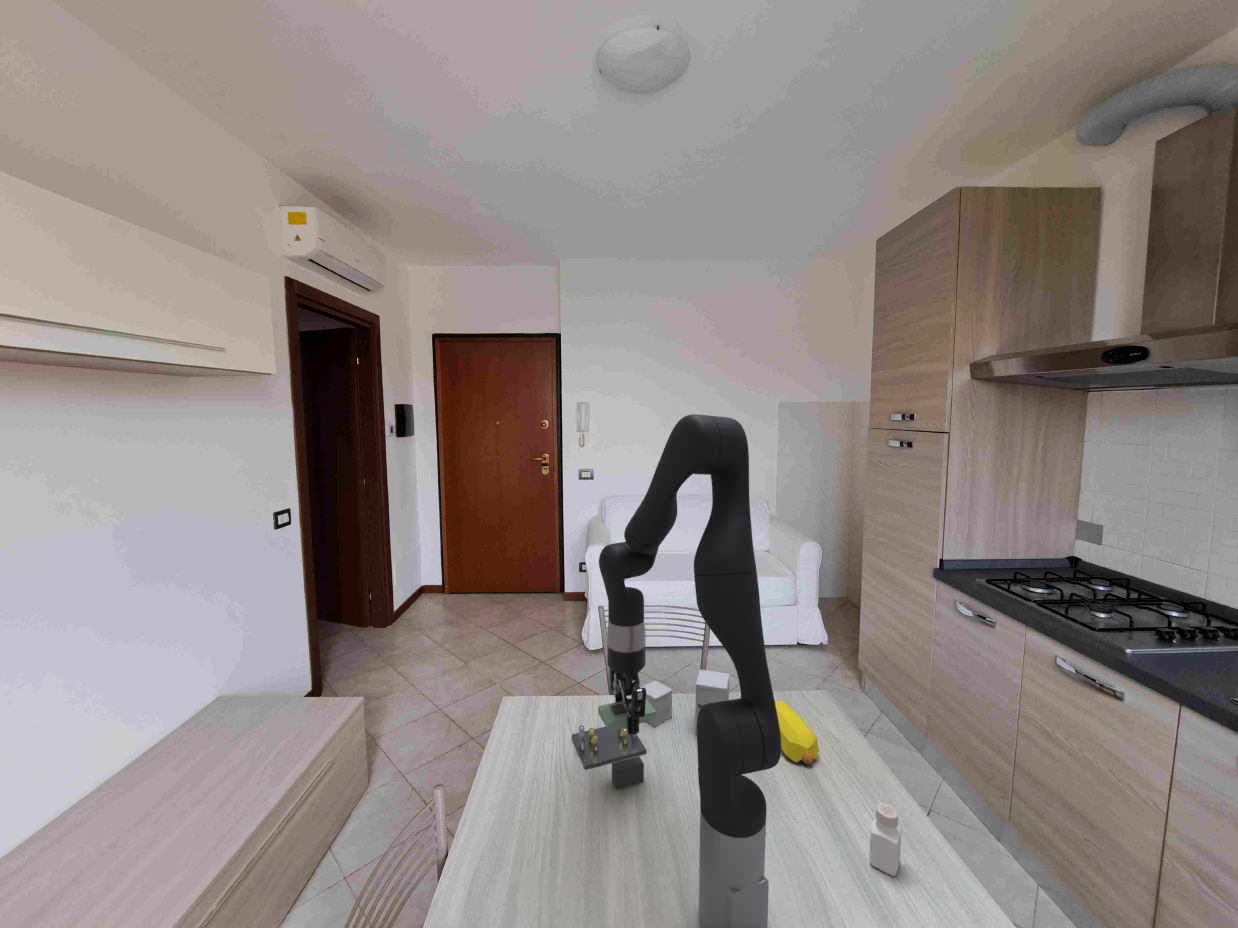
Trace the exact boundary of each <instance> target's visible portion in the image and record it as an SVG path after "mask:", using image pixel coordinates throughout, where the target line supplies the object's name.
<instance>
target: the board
mask: <svg viewBox="0 0 1238 928" xmlns="http://www.w3.org/2000/svg"><path fill="white" fill-rule="evenodd" d="M630 707H631V704H630ZM597 710H598V711H597V712H598V713H597V714H598V715H599V717H600V719H601V721H602V722H603V724H604V727H606V728H607V729H608V731H610V730H614V729H618V728H622V727H626V726H627V709H626V704H624V703H623V701H620V702H611V703H606V704H601V705H598V707H597ZM655 719H656V711H655V709H654V708H653V707H652V706H651V704H650V703H649V702H648V701H647V699H646V704H645V716H644V717H640V718H639V724H643V723H648V722H647V721H651V720H655Z"/></svg>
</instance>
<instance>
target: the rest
mask: <svg viewBox="0 0 1238 928" xmlns="http://www.w3.org/2000/svg"><path fill="white" fill-rule="evenodd" d="M644 766H645V764H644V762H643V760H642V758H641V757H640V755H638V756H635V757H631V758H627V759H623V760H619V761H615V762H612V763H611V783H612V786H613V787H614V789H615V790H616V791H617V790H622V789H624V788H628V787H633V786H636V785H639V784H642V783H644V782H645V767H644Z"/></svg>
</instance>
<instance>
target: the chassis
mask: <svg viewBox="0 0 1238 928" xmlns="http://www.w3.org/2000/svg"><path fill="white" fill-rule="evenodd" d="M571 739H572V741H573V744H574V746H575V749H576V751H577V753H578V755H579V758H580V760H581V762H582V764H583V768H584V769H585V770H588V769H592V768H595V767H599V766H600V767H601V766H604V765H607V764H612V763H615V762H619V761H622V760H626V759H630V758H634V757H638V756H642V755H645V754H647V748H646V747H645V745H644V744H643V742H642V740H641V739H640V737H639V736H638V733H637V734H633V735H629V733H628V732H627V726H626V727H622V728H618V729H614V730H610V731H608V729H607V728H606V726H602V727H597V728H594V727H590V728H589V729H588V730H585V726H584V725H583V724H582V725H579V726H578V732H576V733H573V734H571Z"/></svg>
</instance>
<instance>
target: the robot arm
mask: <svg viewBox="0 0 1238 928" xmlns="http://www.w3.org/2000/svg"><path fill="white" fill-rule="evenodd" d="M747 438H748V437H747V434H746V431H745V428H744V427H743V425H742V424H741V423H740V422H739V421H738V420H737V419H734V418H732V417H727V416H718V415H717V416H716V415H707V414H698V413H697V414H688V415H685V416H683V417H682V418H680V419H679V420H678V421H677V423H676V424H675V425H674V427H673V429H672V431H671V432H670V434H669V436H668V439H667V441H666V442H665V445H664V448H663V450H662V453H661V456H660V459H659V460H658V463H657V465H656V467H655V470H654V473H653V476H652V479H651V481H650V484H649V485H648V486H649V487H648V489H647V491H646V494H645V495H644V498H643V499H642V500H641V503H640V504H639V506H638V507H637V509H636V511H635V512H634V514H633V515H632V516H631V518H630V520H629V521H628V523H627V525H626V527H625V530H624V533H623V536H624V540H625V541H621V542H616V543H615V542H614V543H610V544H607V545H605V546H604V547H603V548H602V550H601V552H600V554H599V557H598V567H599V571H600V575H601V578H602V581H603V585H604V589H605V592H606V593H605V594H606V595H607V601H608V602H607V605H608V606H607V607H608V612H607V613H608V619H607V621H608V623H607V630H606V631H607V633H606V634H607V635H606V637H607V640H606V642H607V646H606V647H607V651H606V652H607V666H608V667H609V681H610V683H609V684H610V689H611V691H613V693H612V694H613V697H614V698H615V700H614V701H615V702H620V701H623V703H624V704H626V709H627V732H628V733H629V735H633V734H637V735H638V734H639V732H640V723H639V718H640V717H644V716H645V704H646V689H645V687H644V688H641V687H640V685H641V681H640V676H639V673H640V671H641V670H643V669H644V667H645V666H646V660H647V659H646V658H647V657H646V626H645V597H644V594H643V592H642V591H641V589H639V588H636V587H631V586H630V587H628V586H626V583H625V580H626V579H627V580H628V579H631V578H637V577H640V576H643V575H646V574H647V573H648V572H649V571H650V570H651V569H652V568H653V566H654V565H655V561H656V558H657V554H658V553H659V547H660V545H661V544H662V543H663V541H665V538H666V537H667V536H668V535H669V534H670V532H671V530H672V529H673V527H674V525H675V524H676V520H677V518H678V517H677V516H678V500H677V499H678V498H677V496H678V492H679V490H680V488H681V487H682V485H684V484H685V482H686V481H687V480H688V479H689V478H690V477H691V476H693V475H702V476H703V475H705V476H706V475H707V476H708V475H710V479H711V495H712V499H711V500H712V501H711V502H712V503H711V510H710V511H711V512H710V515H709V519H708V521H707V523H706V526H705V529H704V530H703V532H702V536H701V537H700V539H699V543H698V546H697V548H696V552H695V555H694V560H693V575H694V576H693V577H694V587H695V589H694V590H695V597H696V598H695V599H696V606H697V608H698V611H699V614H700V615H701V617H702V618H703V620H704V622H705V624H706V625H707V626H708V628H709V629H710V630H711V632H712V633H713V635H714V636H715V637H716V638H717V640H718V642H719V643H720V644H721V646H722V647H723V648H724V650H725V652H726V653H727V654H728V656H729V657H730V660H731V661H732V663H733V665H734V668H735V670H736V671H735V672H736V675H737V678H738V685H739V690H740V698H735V699H729V700H727V701H720V702H714V703H708V704H705V705H703V706H702V707H701V709H700V710H699V713H698V717H697V735H696V743H697V745H696V746H697V749H696V750H697V777H698V779H697V781H698V788H699V790H698V791H699V799H700V801H699V804H700V805H699V806H700V807H699V808H700V811H699V814H700V815H699V816H700V817H699V859H698V860H699V861H698V862H699V864H698V865H699V868H698V869H699V873H698V874H699V875H698V877H699V878H698V918H699V920H698V921H699V924H700V927H701V928H768V920H769V912H768V911H769V887H770V886H769V885H770V883H769V881H768V879H767V878H766V876H765V873H766V872H765V869H766V867H765V866H766V840H767V839H766V837H767V836H766V835H767V801H766V798H765V794H764V792H763V791H762V788H760V786H759V785H758V784H757V783H756V782H755V781H753V780H752V779H750V778H749V777H747V774H751V773H756V772H761V771H765V770H769V769H772V768H774V767H776V766H778V763H779V761H780V759H781V755H782V748H781V734H780V727H779V721H778V716H777V710H776V705H775V697H774V690H773V687H772V681H771V676H770V672H769V671H770V670H769V665H768V660H767V653H766V647H765V639H764V631H763V621H762V614H761V601H760V599H761V598H760V589H759V579H758V572H757V571H758V570H757V564H756V557H755V550H754V541H753V530H752V520H751V519H752V518H751V504H750V503H751V502H750V454H749V444H748V439H747ZM629 696H630V697H629ZM628 697H629V698H628ZM615 702H614V703H615ZM630 704H631V707H630Z"/></svg>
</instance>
